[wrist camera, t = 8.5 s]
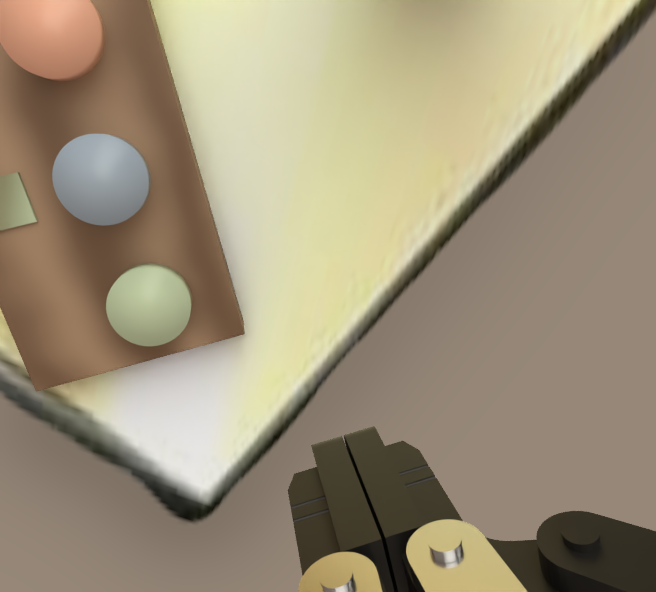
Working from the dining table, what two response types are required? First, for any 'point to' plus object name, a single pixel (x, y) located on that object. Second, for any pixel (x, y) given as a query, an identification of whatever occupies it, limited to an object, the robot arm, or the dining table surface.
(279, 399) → the dining table surface
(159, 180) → the console
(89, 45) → the button terracotta
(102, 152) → the button slate
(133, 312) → the button sage
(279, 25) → the dining table surface
